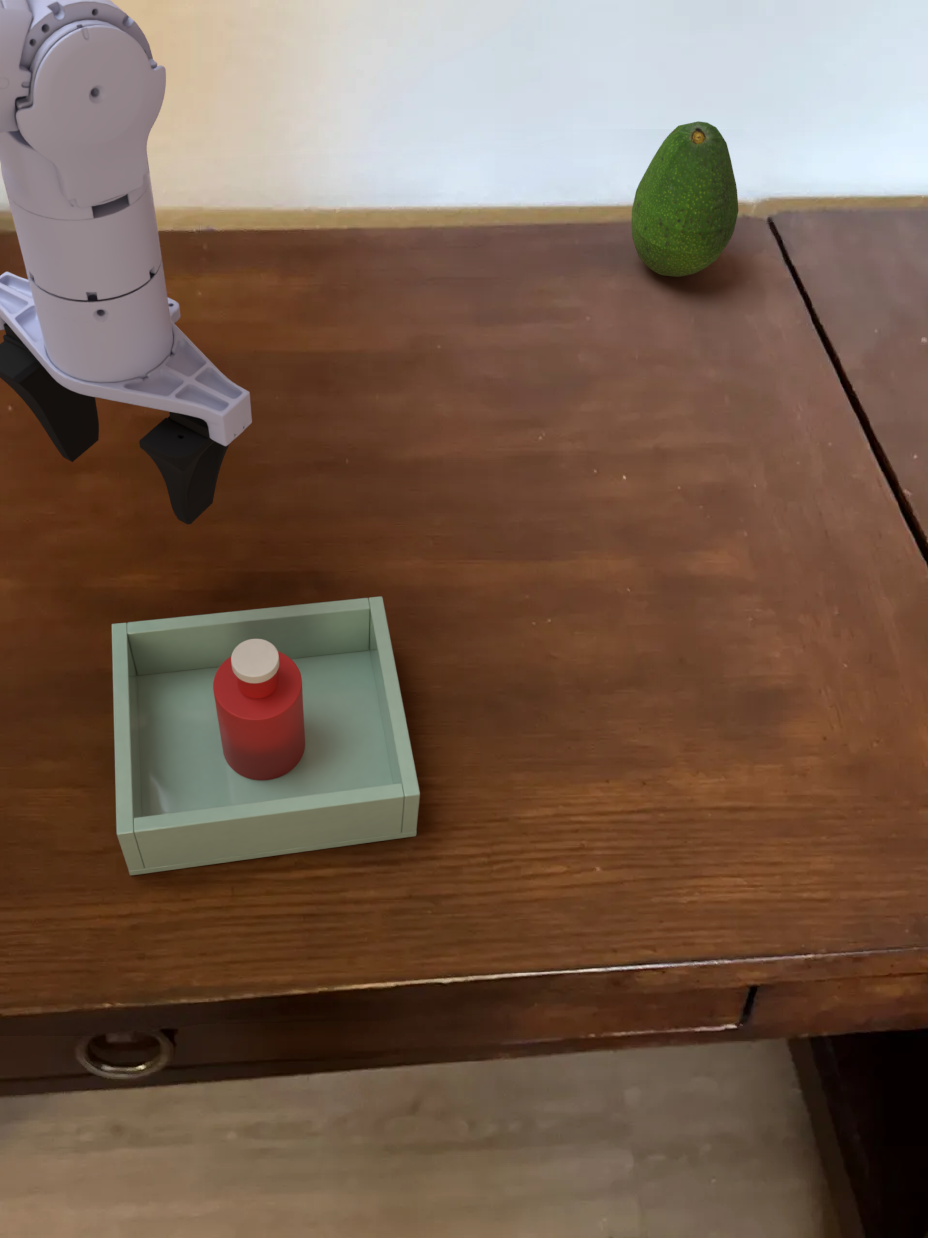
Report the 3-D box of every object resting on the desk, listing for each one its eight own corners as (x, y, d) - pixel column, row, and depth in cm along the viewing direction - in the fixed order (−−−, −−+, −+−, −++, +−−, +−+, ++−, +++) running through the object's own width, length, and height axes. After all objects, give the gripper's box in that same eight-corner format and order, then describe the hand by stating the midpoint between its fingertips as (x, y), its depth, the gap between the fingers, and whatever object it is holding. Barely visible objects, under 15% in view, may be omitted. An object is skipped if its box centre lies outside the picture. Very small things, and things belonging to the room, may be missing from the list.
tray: (129, 876, 61) (116, 834, 57) (123, 671, 68) (111, 623, 65) (416, 836, 63) (420, 794, 60) (380, 643, 71) (382, 595, 67)
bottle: (225, 786, 64) (211, 700, 57) (219, 716, 66) (206, 626, 60) (309, 775, 65) (305, 689, 58) (300, 706, 67) (295, 616, 61)
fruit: (599, 255, 95) (627, 112, 85) (677, 227, 98) (712, 86, 88) (662, 312, 91) (699, 169, 82) (741, 282, 94) (785, 140, 85)
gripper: (286, 276, 53) (296, 491, 63) (32, 159, 56) (82, 380, 67) (181, 364, 49) (212, 578, 60) (-84, 232, 53) (-11, 455, 63)
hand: (137, 479), depth 63 cm, fingers open, 7 cm apart
